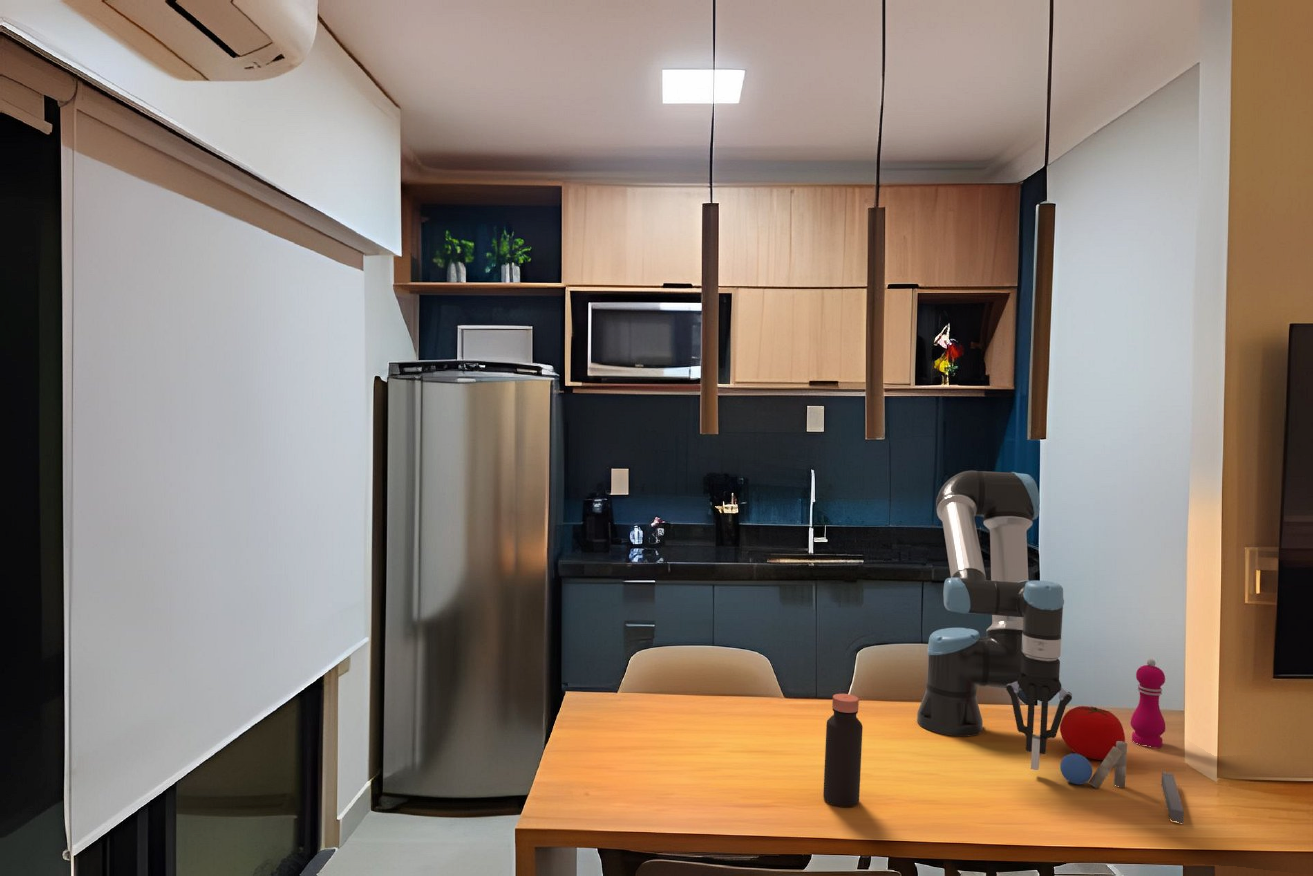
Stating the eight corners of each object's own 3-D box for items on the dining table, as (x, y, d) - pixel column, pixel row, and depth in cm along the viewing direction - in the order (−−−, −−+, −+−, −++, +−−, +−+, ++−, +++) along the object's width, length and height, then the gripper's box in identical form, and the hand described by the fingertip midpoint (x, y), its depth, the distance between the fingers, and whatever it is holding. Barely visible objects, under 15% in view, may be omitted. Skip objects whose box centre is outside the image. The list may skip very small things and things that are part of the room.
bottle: (815, 798, 170) (820, 695, 170) (839, 790, 174) (843, 690, 174) (842, 811, 165) (847, 705, 164) (866, 803, 169) (871, 699, 168)
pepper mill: (1162, 751, 203) (1166, 665, 202) (1127, 743, 207) (1131, 659, 206) (1166, 743, 208) (1171, 659, 208) (1132, 735, 213) (1136, 653, 212)
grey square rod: (1170, 822, 166) (1171, 809, 166) (1161, 784, 184) (1162, 772, 184) (1182, 824, 165) (1183, 811, 165) (1172, 786, 183) (1173, 774, 183)
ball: (1096, 758, 179) (1094, 789, 178) (1089, 755, 185) (1087, 785, 184) (1064, 752, 181) (1062, 783, 180) (1058, 749, 186) (1056, 779, 185)
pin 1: (1088, 783, 180) (1113, 748, 178) (1088, 780, 182) (1112, 745, 180) (1098, 789, 179) (1123, 754, 178) (1098, 786, 181) (1122, 751, 179)
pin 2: (1114, 786, 181) (1116, 743, 181) (1113, 783, 183) (1116, 740, 183) (1125, 788, 180) (1127, 745, 180) (1124, 785, 182) (1126, 742, 182)
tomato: (1121, 771, 190) (1124, 720, 189) (1055, 756, 197) (1058, 707, 197) (1126, 754, 200) (1129, 706, 199) (1063, 741, 207) (1066, 694, 207)
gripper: (1005, 655, 184) (1000, 767, 184) (1074, 665, 178) (1068, 780, 179) (1008, 647, 191) (1003, 755, 191) (1074, 656, 185) (1069, 767, 186)
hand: (1034, 767), depth 185 cm, fingers closed
